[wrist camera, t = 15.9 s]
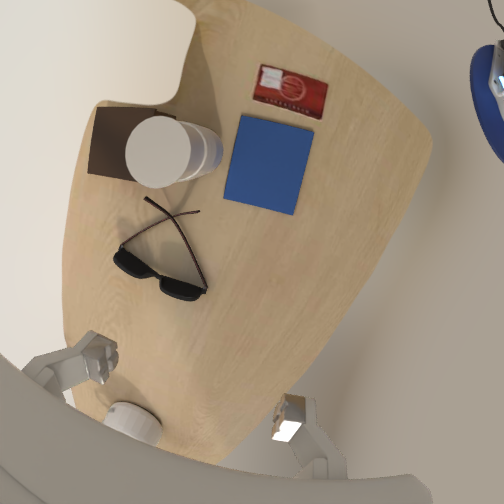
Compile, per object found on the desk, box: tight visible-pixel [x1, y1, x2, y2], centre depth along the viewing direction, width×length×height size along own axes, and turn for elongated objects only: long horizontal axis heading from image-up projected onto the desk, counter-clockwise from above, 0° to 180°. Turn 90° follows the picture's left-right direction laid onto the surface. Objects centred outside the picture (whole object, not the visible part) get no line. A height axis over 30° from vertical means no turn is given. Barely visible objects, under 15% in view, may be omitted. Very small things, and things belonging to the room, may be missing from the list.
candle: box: [125, 116, 223, 188], centre depth 29 cm, size 7×7×15 cm
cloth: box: [224, 116, 314, 215], centre depth 36 cm, size 12×10×1 cm
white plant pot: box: [101, 402, 163, 447], centre depth 58 cm, size 21×17×10 cm
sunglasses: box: [113, 196, 208, 301], centre depth 39 cm, size 17×14×5 cm
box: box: [87, 107, 176, 182], centre depth 33 cm, size 9×9×8 cm
